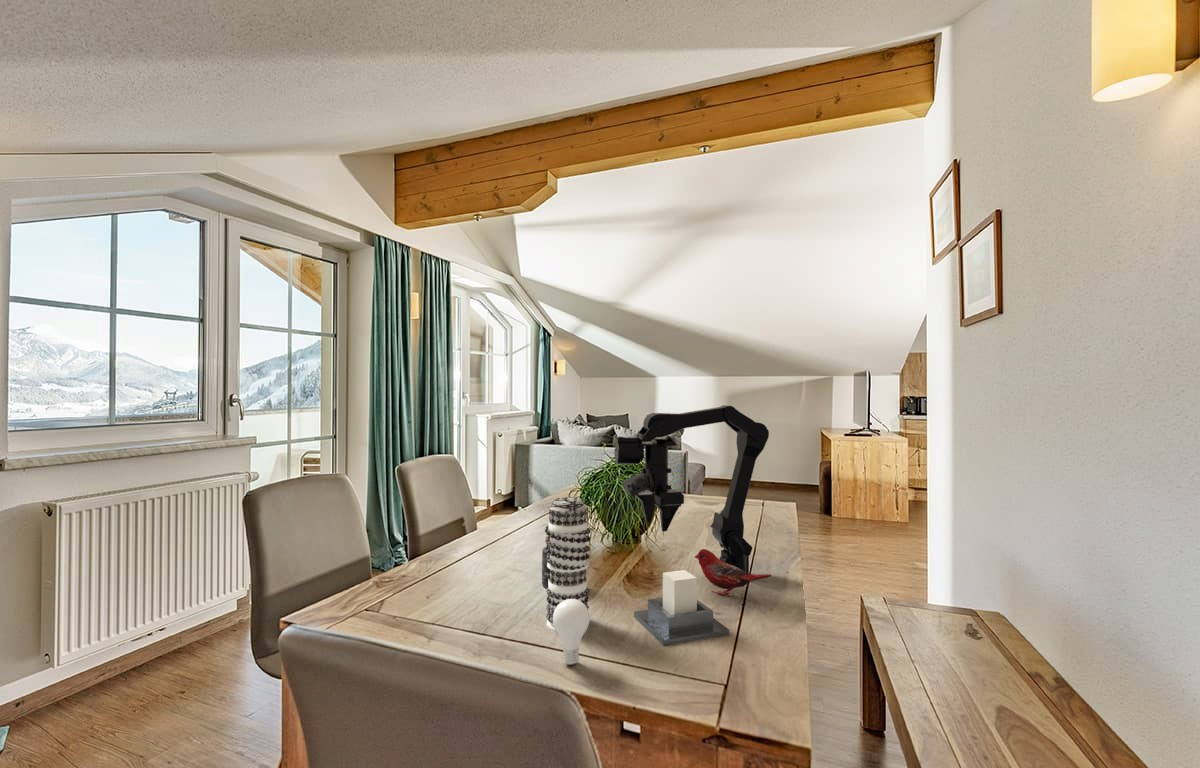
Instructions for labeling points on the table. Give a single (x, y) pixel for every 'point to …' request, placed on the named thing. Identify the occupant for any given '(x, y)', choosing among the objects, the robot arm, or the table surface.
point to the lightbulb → (571, 627)
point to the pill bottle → (545, 568)
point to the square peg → (679, 592)
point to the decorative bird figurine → (723, 573)
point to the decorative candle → (566, 553)
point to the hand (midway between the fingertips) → (656, 526)
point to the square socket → (679, 623)
